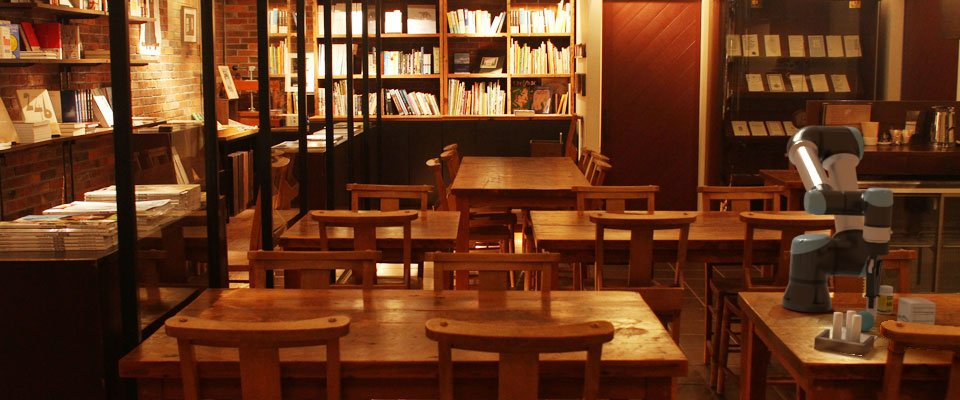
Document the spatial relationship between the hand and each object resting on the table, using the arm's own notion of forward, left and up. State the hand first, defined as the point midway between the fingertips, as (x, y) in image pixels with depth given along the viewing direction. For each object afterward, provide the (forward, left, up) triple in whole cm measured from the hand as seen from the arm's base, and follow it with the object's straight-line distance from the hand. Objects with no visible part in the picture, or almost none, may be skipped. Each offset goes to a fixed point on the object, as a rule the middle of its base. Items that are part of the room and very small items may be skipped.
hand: (870, 318), depth 308 cm
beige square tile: (0, -17, -2) cm, 17 cm away
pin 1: (-3, -29, -2) cm, 29 cm away
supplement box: (+15, -14, -2) cm, 21 cm away
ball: (0, -8, +1) cm, 8 cm away
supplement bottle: (0, +20, -2) cm, 20 cm away
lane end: (0, -30, -2) cm, 30 cm away
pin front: (0, -24, -2) cm, 24 cm away
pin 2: (+2, -29, -2) cm, 29 cm away
